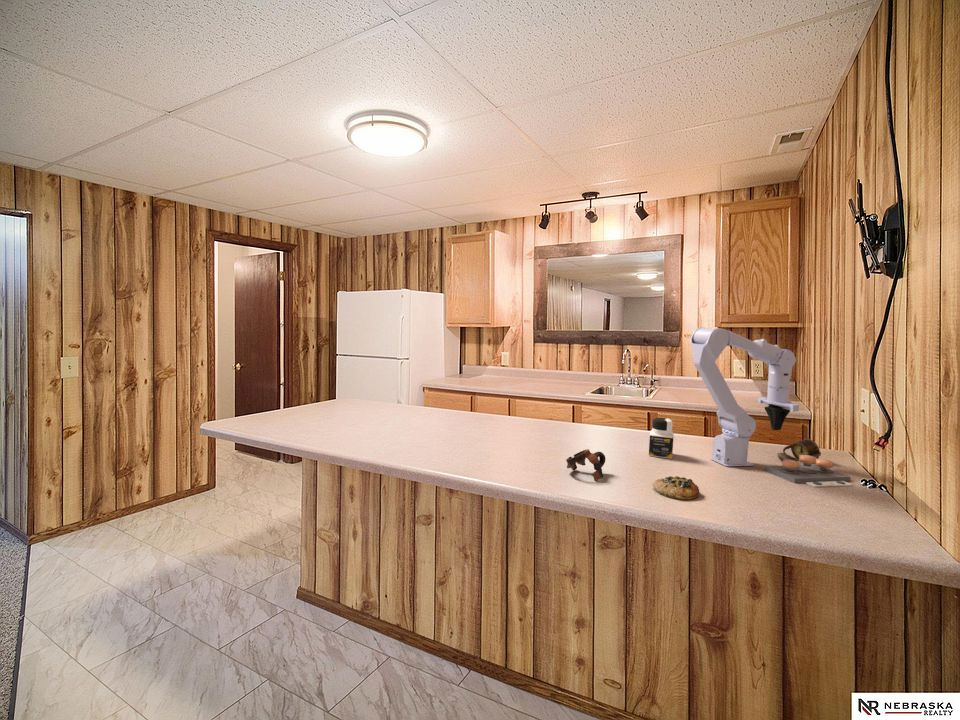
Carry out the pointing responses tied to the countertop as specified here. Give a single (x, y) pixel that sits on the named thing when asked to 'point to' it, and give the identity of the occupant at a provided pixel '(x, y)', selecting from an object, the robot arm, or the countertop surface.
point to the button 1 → (790, 464)
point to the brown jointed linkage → (592, 458)
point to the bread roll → (676, 488)
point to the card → (829, 483)
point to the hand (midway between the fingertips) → (776, 429)
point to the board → (807, 474)
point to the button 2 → (823, 464)
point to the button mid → (807, 460)
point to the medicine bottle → (661, 438)
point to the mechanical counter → (801, 450)
